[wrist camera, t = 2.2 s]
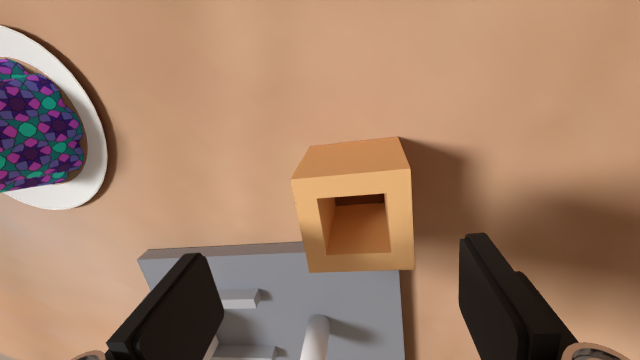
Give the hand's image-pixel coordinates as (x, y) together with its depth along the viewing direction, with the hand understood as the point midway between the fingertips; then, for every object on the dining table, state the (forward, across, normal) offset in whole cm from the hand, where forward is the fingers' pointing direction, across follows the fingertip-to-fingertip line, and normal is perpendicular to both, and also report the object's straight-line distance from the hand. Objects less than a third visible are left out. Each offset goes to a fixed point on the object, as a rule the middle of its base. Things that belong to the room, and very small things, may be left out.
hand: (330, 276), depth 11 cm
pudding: (+9, +20, -6) cm, 23 cm away
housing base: (+8, +6, +10) cm, 14 cm away
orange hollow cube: (+8, -1, 0) cm, 8 cm away
